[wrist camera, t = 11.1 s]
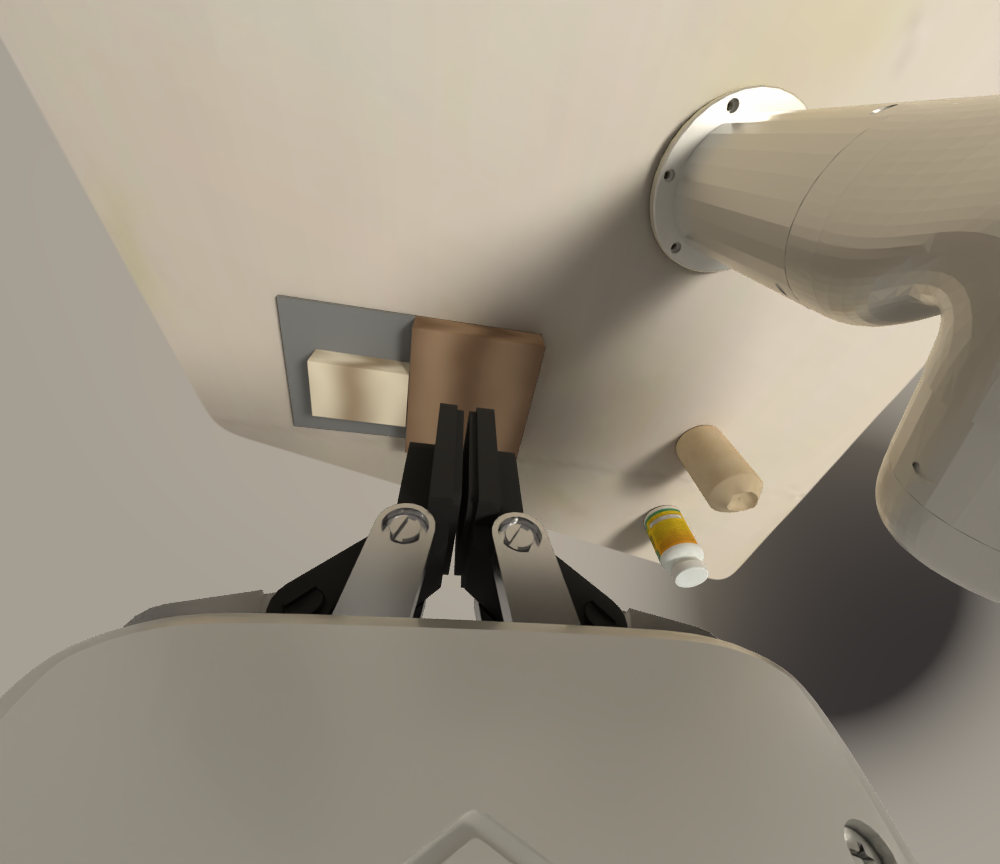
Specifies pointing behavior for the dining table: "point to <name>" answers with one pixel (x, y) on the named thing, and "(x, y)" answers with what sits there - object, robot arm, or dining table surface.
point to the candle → (718, 470)
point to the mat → (338, 350)
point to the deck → (471, 377)
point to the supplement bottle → (676, 545)
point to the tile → (358, 388)
